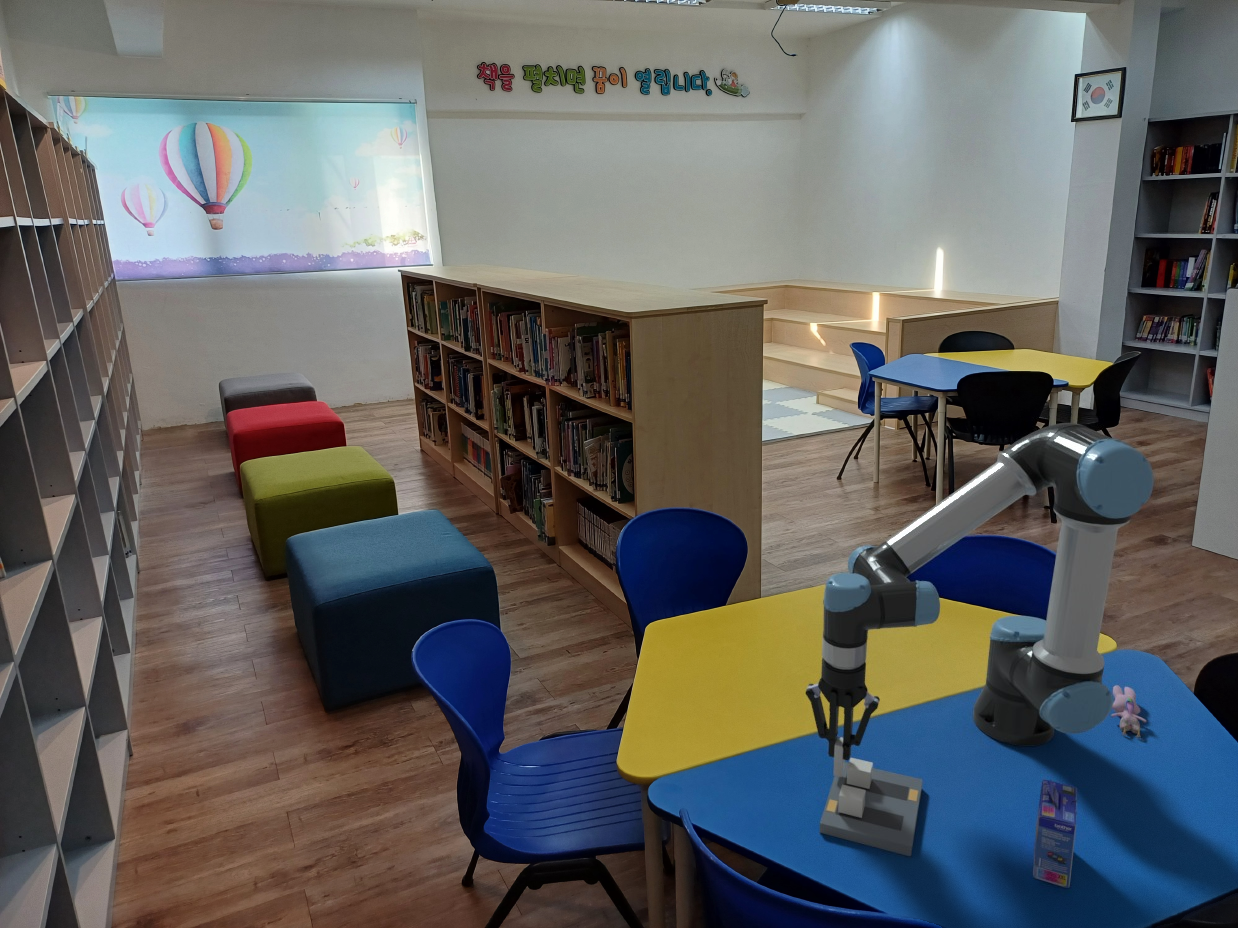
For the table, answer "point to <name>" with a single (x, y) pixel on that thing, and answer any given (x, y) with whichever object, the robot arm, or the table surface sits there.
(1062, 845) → the ink cartridge box
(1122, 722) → the rabbit figure
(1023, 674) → the robot arm
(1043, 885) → the table surface
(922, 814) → the table surface
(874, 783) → the switch bank
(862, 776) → the far tab
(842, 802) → the near tab
